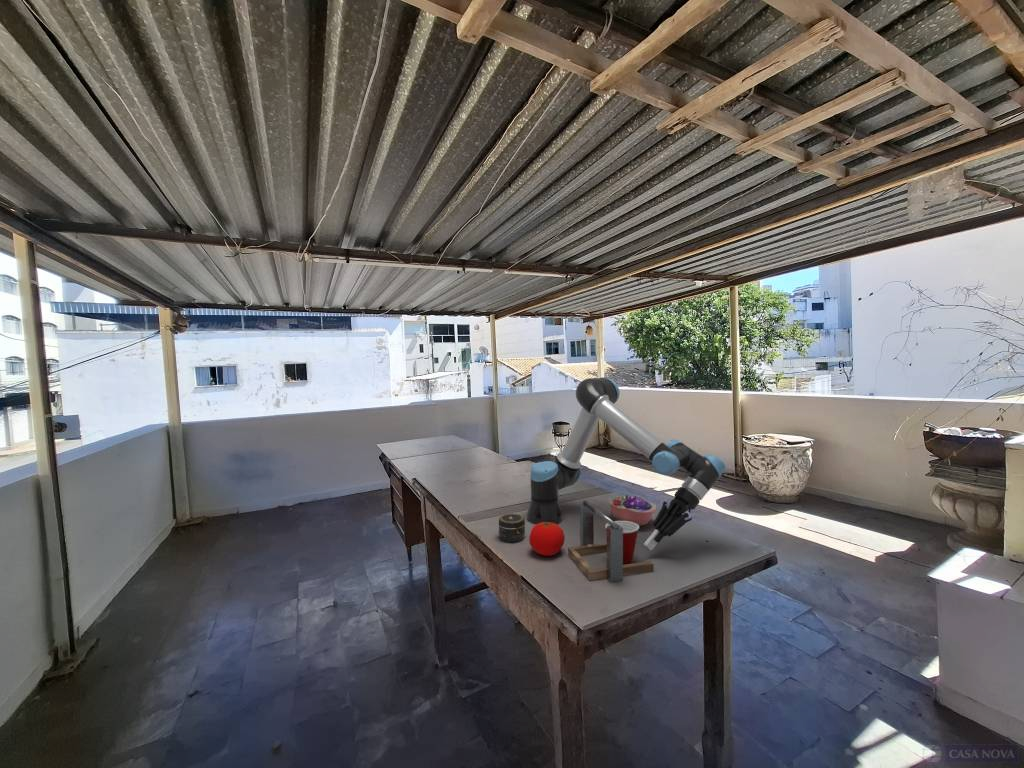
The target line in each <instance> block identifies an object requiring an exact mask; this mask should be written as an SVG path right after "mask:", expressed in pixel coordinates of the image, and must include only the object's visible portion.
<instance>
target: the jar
mask: <svg viewBox="0 0 1024 768" xmlns="http://www.w3.org/2000/svg"><path fill="white" fill-rule="evenodd" d="M525 520H526V519H525V516H523V515H522V514H517V513H507V514H506V513H505V514H502V515H501V516H499V518H498V534H499V538H500V539H501V541H503V542H505V543H511V544H513V543H514V544H515V543H518V542H521V541H522V540H523V539H524V537H525V534H526V533H525V532H526V530H525V529H526V527H525V525H526V521H525Z"/></svg>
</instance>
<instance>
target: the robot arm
mask: <svg viewBox="0 0 1024 768" xmlns="http://www.w3.org/2000/svg"><path fill="white" fill-rule="evenodd" d="M575 397H576V400H577V402H578V404H579V405H580V406H581V407H582V408H581V410H580V413H579V414H578V417H577V419H576V422H575V424H574V425H573V427H572V430H571V432H570V434H569V435H568V437H567V438H568V439H567V441H566V443H565V445H564V448H563V450H562V451H561V452H558V453H557V454H556V456H555V458H554V461H550V460H543V461H539V462H536V463H534V464H533V465H532V466H531V468H530V475H529V476H530V502H529V506H528V509H527V512H526V519H527V521H528V522H529V523H532V524H534V525H536V524H538V523H542V522H551V523H552V522H553V523H555V524H557V525H558V524H559V523H561V522H562V521H563V519H564V518H563V515H564V514H563V512H562V508H561V505H560V503H559V491H560V490H562V489H565V488H568V487H570V486H573V485H574V484H576V483H577V482H579V479H580V478H581V473H582V470H581V467H582V463H581V459H582V458H583V457H582V456H583V455H584V453H585V451H586V449H587V447H588V445H589V443H590V440H591V438H592V437H593V435H594V431H595V430H596V427H597V426H598V424H599V422H600V420H601V421H602V422H604V423H605V424H606V425H607V426H608V427H610V428H611V429H612V430H613V431H614V432H616V433H617V434H618V435H619V436H621V437H622V438H623V439H624V440H626V442H628V443H629V445H631V446H632V447H634V448H635V449H636V450H637V451H638V452H640V454H642V455H644V456H645V457H646V458H647V459H648V460H649V461H650V462H651V464H652V467H653V469H654V470H655V472H657V473H658V474H660V475H664V476H668V475H671V474H674V473H676V472H678V470H680V469H683V470H684V471H686V472H687V473H689V475H688V476H687V478H686V479H685V480H684V481H683V483H682V484H681V486H680V487H679V488H678V489H677V490H676V491H675V493H674V498H672V500H670V502H666V501H663V502H662V506H661V507H660V510H659V512H658V514H657V516H656V517H655V519H654V521H653V523H652V526H653V527H654V529H653V531H651V533H650V534H649V536H648V538H647V539H646V540H645V542H643V545H644V546H645V547H646V548H647V549H648V550H649V551H653V549H654V548H655V547H656V546H657V544H659V543H660V542H661V541H662V540H663V538H665V537H669V538H670V537H672V536H673V535H674V534H675V533H676V532H678V531H679V530H680V529H681V528H682V527H683V526H684V525H686V523H688V522H691V521H692V520H693V517H692V516H691V515H690V513H691V511H692V510H695V509H696V507H698V505H699V504H700V501H702V500H703V499H704V497H705V496H706V495H707V494H708V492H709V491H710V490H711V488H712V487H713V486H714V485H715V484H716V483H717V482H718V480H719V479H720V478H721V476H722V475H723V473H724V472H725V470H726V465H725V463H724V462H723V460H722V459H720V458H719V457H718V456H716V455H713V454H712V453H707V454H706V455H704V456H703V455H701V454H700V453H698V452H696V451H695V450H693V449H692V448H691V447H689V446H687V445H686V444H685V443H683V442H682V441H680V440H677V439H676V438H671V439H670V441H668V442H667V443H664V442H663V441H661V440H660V438H658V437H656V435H654V434H653V433H652V432H650V430H648V429H647V428H646V427H644V426H642V424H640V423H639V422H638V421H637V420H635V419H634V418H632V416H630V415H628V414H627V412H625V411H624V410H622V409H621V408H620V407H618V406H617V405H616V404H615V403H617V402H618V400H619V397H620V389H619V386H618V384H617V383H616V381H614V380H613V379H611V378H607V377H597V378H596V377H589V378H585V379H583V380H582V381H580V382H579V383H578V385H577V386H576V389H575Z"/></svg>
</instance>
